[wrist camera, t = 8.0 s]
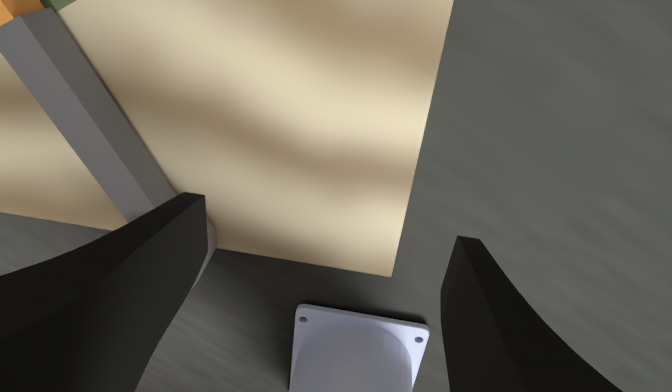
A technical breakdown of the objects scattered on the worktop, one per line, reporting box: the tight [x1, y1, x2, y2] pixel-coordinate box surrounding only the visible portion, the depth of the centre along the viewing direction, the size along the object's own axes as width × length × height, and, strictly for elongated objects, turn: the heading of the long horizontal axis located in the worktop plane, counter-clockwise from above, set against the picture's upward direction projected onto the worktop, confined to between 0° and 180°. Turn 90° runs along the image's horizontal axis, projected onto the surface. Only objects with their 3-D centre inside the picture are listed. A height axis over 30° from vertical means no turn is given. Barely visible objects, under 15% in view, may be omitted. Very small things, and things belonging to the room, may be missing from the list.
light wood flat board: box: [0, 0, 453, 277], centre depth 21 cm, size 15×23×1 cm, turn 84°
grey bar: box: [0, 0, 218, 289], centre depth 20 cm, size 15×4×3 cm, turn 23°
